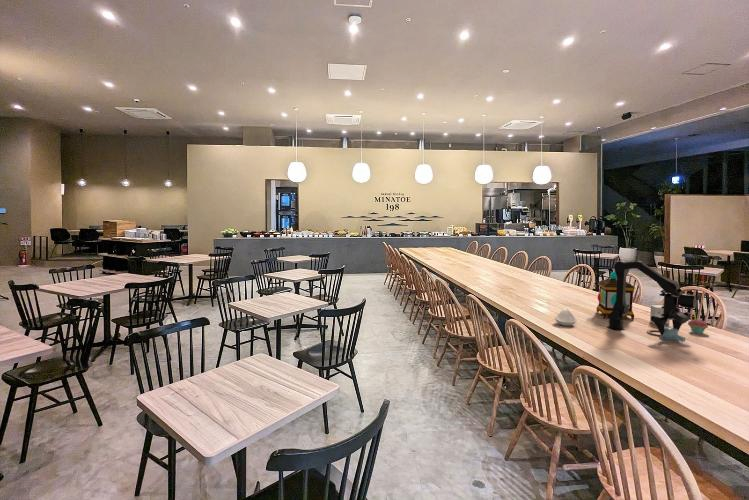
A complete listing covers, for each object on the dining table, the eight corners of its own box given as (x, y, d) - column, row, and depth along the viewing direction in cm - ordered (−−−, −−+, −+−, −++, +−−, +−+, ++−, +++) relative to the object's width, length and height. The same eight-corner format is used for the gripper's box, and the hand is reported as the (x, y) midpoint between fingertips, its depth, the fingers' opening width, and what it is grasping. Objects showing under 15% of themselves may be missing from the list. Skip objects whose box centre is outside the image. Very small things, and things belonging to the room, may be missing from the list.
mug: (658, 337, 208) (659, 327, 207) (669, 336, 208) (670, 326, 208) (677, 344, 196) (678, 333, 196) (689, 343, 197) (690, 332, 197)
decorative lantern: (601, 319, 246) (603, 272, 244) (593, 311, 265) (595, 268, 263) (637, 321, 241) (639, 273, 238) (627, 313, 260) (628, 269, 257)
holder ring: (659, 337, 209) (659, 335, 209) (642, 331, 219) (642, 330, 219) (674, 335, 211) (674, 334, 211) (657, 330, 221) (657, 329, 221)
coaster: (670, 342, 200) (670, 341, 200) (654, 337, 209) (654, 336, 208) (683, 341, 202) (683, 340, 202) (667, 336, 210) (667, 335, 210)
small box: (663, 322, 238) (664, 305, 237) (669, 324, 232) (670, 307, 231) (649, 321, 238) (650, 305, 238) (655, 324, 233) (656, 307, 232)
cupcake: (689, 333, 215) (690, 312, 214) (685, 329, 222) (687, 308, 221) (709, 335, 211) (710, 313, 210) (705, 331, 218) (706, 310, 217)
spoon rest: (577, 328, 228) (577, 316, 227) (555, 326, 233) (555, 314, 232) (574, 318, 249) (574, 307, 249) (554, 317, 254) (554, 306, 253)
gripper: (671, 309, 194) (669, 340, 195) (700, 307, 198) (698, 337, 199) (650, 305, 205) (649, 333, 206) (678, 302, 209) (677, 331, 210)
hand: (668, 334), depth 205 cm, fingers open, 9 cm apart
